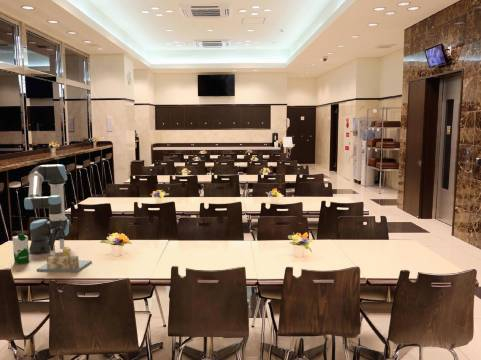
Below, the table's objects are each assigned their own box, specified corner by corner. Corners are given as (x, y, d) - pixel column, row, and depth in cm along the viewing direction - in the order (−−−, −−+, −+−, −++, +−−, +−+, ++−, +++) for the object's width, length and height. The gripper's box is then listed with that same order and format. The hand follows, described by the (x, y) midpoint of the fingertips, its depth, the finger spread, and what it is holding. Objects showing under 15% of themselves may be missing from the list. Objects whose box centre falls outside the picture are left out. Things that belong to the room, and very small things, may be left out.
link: (78, 266, 295) (78, 256, 294) (74, 269, 289) (74, 258, 288) (51, 266, 296) (50, 255, 295) (46, 269, 290) (45, 258, 289)
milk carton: (17, 265, 303) (15, 235, 301) (12, 262, 310) (10, 233, 307) (30, 262, 310) (29, 233, 307) (26, 259, 316) (24, 231, 313)
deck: (54, 261, 312) (53, 245, 310) (91, 262, 308) (91, 247, 307) (36, 271, 291) (35, 254, 289) (76, 272, 287) (75, 256, 286)
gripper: (58, 215, 301) (60, 246, 304) (40, 224, 276) (42, 258, 280) (69, 215, 301) (71, 246, 304) (52, 224, 276) (54, 258, 279)
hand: (57, 252), depth 292 cm, fingers open, 13 cm apart
